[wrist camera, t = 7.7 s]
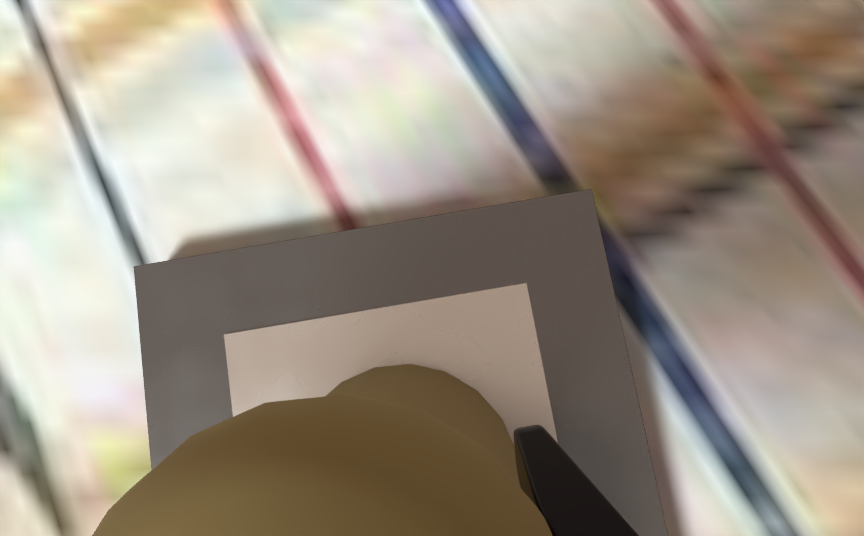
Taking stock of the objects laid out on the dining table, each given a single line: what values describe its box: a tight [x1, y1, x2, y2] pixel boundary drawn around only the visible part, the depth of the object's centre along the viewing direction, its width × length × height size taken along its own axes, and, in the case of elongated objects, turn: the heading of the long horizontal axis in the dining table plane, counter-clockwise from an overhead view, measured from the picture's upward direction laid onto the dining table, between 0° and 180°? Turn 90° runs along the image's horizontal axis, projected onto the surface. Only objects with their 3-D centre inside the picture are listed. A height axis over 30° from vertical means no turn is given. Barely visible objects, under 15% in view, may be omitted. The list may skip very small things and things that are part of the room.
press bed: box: [134, 189, 668, 536], centre depth 18 cm, size 14×14×2 cm
